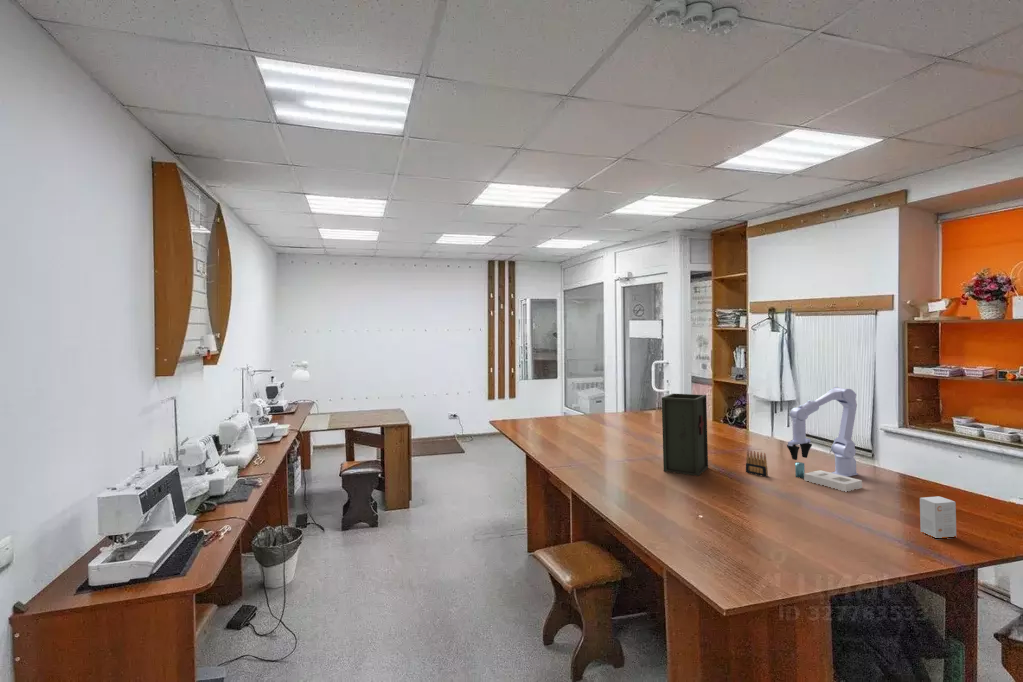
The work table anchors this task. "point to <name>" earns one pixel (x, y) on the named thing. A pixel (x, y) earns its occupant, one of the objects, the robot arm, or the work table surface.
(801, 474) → the teal cylinder
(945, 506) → the small box
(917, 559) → the work table surface
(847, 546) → the work table surface
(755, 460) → the ammunition clip
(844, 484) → the bore block
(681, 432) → the dark green bin
